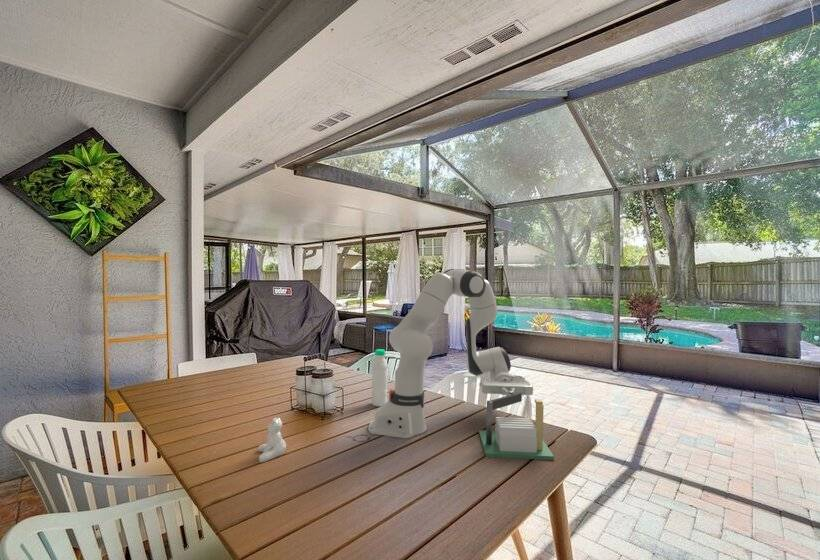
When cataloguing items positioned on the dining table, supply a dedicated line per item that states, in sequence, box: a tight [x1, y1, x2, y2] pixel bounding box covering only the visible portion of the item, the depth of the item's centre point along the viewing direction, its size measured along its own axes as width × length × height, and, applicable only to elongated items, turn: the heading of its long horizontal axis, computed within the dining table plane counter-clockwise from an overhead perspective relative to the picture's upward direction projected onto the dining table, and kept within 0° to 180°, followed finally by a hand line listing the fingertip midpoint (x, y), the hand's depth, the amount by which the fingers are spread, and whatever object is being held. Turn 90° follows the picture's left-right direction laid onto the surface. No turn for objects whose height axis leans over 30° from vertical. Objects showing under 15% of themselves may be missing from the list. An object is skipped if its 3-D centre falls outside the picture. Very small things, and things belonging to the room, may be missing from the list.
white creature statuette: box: [257, 417, 287, 463], centre depth 122 cm, size 10×9×12 cm
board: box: [478, 398, 555, 461], centre depth 131 cm, size 22×18×17 cm
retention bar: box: [485, 393, 523, 444], centre depth 134 cm, size 18×2×14 cm, turn 126°
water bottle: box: [371, 348, 389, 407], centre depth 170 cm, size 7×7×25 cm
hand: (510, 394), depth 143 cm, fingers closed
